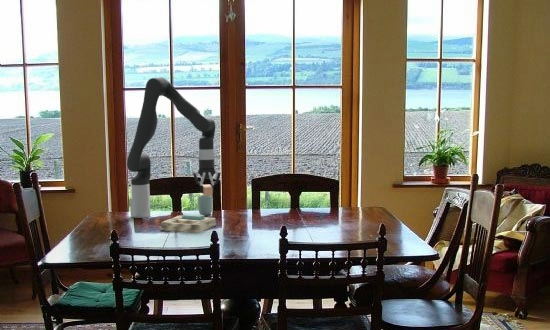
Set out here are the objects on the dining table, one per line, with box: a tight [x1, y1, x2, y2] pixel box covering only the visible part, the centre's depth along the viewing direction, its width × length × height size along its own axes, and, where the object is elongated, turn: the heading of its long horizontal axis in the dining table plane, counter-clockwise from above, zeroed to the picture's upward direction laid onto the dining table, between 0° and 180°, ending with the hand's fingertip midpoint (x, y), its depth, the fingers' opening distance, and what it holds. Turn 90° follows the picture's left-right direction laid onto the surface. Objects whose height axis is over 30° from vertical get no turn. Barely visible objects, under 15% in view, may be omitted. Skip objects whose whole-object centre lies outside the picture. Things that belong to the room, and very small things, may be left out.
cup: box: [197, 194, 214, 216], centre depth 291 cm, size 8×8×10 cm
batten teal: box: [181, 213, 205, 220], centre depth 265 cm, size 10×4×4 cm, turn 66°
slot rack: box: [160, 214, 217, 234], centre depth 261 cm, size 20×17×4 cm
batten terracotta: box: [202, 183, 214, 197], centre depth 269 cm, size 10×4×4 cm, turn 14°
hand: (207, 192), depth 269 cm, fingers closed on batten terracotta, 4 cm apart
